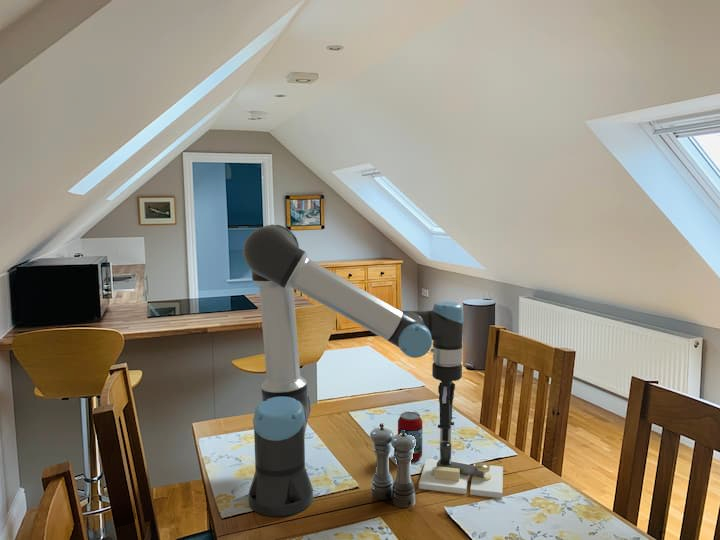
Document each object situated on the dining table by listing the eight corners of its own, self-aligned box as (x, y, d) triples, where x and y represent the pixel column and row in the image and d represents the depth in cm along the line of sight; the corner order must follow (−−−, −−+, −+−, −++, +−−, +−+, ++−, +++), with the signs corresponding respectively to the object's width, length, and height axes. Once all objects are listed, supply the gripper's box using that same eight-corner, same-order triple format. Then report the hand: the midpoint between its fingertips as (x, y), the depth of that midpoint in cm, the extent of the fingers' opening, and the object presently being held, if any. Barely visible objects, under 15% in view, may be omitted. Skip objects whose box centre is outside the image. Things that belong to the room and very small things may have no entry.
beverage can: (402, 463, 155) (402, 421, 154) (394, 453, 162) (394, 412, 160) (426, 460, 157) (426, 418, 156) (417, 450, 164) (417, 409, 162)
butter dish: (466, 494, 139) (466, 479, 139) (418, 488, 142) (418, 473, 142) (469, 468, 153) (470, 454, 152) (426, 463, 155) (426, 450, 155)
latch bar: (490, 473, 146) (491, 448, 145) (488, 479, 142) (488, 454, 142) (439, 464, 151) (440, 440, 150) (436, 470, 148) (436, 445, 147)
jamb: (502, 498, 137) (502, 491, 137) (470, 494, 139) (470, 487, 139) (502, 471, 151) (503, 465, 150) (473, 468, 152) (473, 462, 152)
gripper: (435, 355, 155) (434, 439, 157) (429, 368, 142) (427, 459, 145) (464, 357, 153) (461, 442, 156) (460, 371, 140) (457, 463, 143)
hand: (445, 450), depth 150 cm, fingers closed
